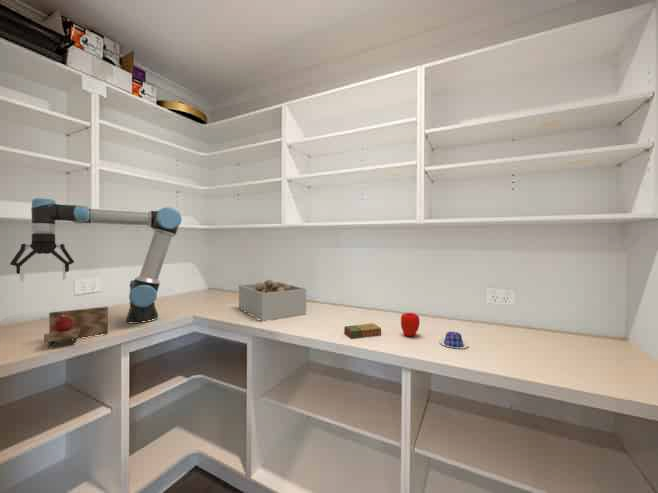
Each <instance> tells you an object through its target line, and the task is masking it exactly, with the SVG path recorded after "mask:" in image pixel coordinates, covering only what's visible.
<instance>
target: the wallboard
mask: <svg viewBox="0 0 658 493" xmlns="http://www.w3.org/2000/svg"><path fill="white" fill-rule="evenodd" d="M62 315H64V316H66V317H68V318H70V319H71V320H72V322H73V326H72V328H71V329H70V330H74V329H80V332H79V335H78V338H82V337H88V336H95V335H101V334H107V333H108V334H109V306H101V307H91V308H83V309H82V308H81V309H72V310H62V311H61V310H60V311H53V312H49V313H48V316H49V319H48V320H49V322H48V323H49V326H48V328H49V330H48V331H49V332H48V334H49V333H51V332H58V331H57V330H55V328H54V326H55V323H56V321H57V320H58V319H60V318H61V317H62ZM95 337H96V336H95ZM88 338H89V337H88ZM72 339H73V338H72ZM72 339H65V340H58V341H55V343H60V342H59V341H61V342H66V341H67V340H68V341H73V340H72ZM82 339H83V338H82Z"/></svg>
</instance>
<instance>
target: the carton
mask: <svg viewBox="0 0 658 493" xmlns="http://www.w3.org/2000/svg"><path fill="white" fill-rule="evenodd" d="M343 335H345V336H347V338H349V339H351V340H353V339H361V338H362V339H363V338H371V337H379V336H380V337H381V336H382V327H380V326H379V325H377V324H376V323H373V322H372V323H365V324H364V323H363V324H354V325H345V326H344V330H343Z"/></svg>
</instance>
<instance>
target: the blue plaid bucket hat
mask: <svg viewBox="0 0 658 493" xmlns="http://www.w3.org/2000/svg"><path fill="white" fill-rule="evenodd" d="M439 344H440V345H442V346H445V347H447V348H452V349H454V348H455V349H467V348H469V344H468V343H467V342H465V341H463V337H462V334H461V333H460V332H457V331H447V332H446V333H445V336H444V338H443V339H440V340H439Z"/></svg>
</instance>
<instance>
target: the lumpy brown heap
mask: <svg viewBox="0 0 658 493" xmlns="http://www.w3.org/2000/svg"><path fill="white" fill-rule="evenodd" d="M276 282H277V281H273V280H272V279H267V280H264V281H263V282H256V283H255V284H256V285H255V289H256V290H257V291H259V292H262V290H264V288H265V286H266V288H265V289H266V290H265V293H269V292H276V289H277V292H278V291H288V290H291V287H290V285H291V284H289V285H287V284H288V283H285V284H286V285H284V287H283V288H282V287H279V286H278V284H277V283H276ZM264 284H265V286H264ZM271 288H272V290H271ZM262 293H263V292H262Z"/></svg>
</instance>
